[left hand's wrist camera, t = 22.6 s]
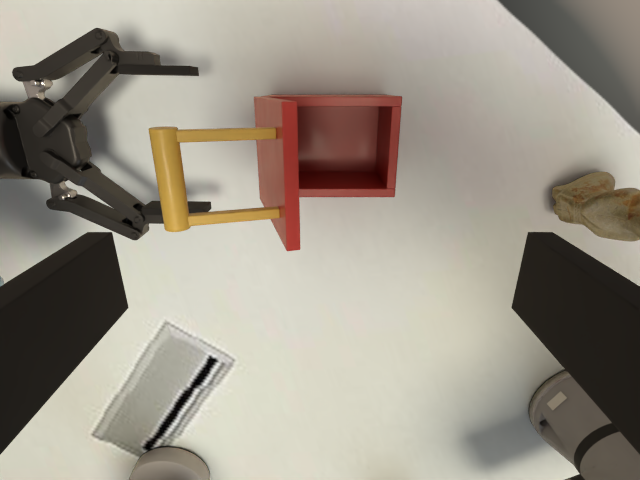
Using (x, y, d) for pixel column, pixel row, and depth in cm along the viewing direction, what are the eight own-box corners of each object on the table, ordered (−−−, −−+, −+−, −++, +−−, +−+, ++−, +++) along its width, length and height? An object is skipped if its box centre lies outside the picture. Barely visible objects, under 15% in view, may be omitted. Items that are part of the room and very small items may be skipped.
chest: (385, 94, 43) (402, 96, 34) (380, 176, 47) (394, 197, 38) (272, 94, 43) (259, 96, 34) (275, 176, 47) (265, 197, 38)
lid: (297, 101, 22) (137, 102, 20) (300, 249, 26) (165, 265, 23) (264, 96, 34) (162, 97, 32) (269, 198, 38) (178, 205, 35)
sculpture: (603, 207, 48) (720, 256, 34) (545, 221, 49) (635, 275, 35) (604, 162, 46) (728, 195, 32) (542, 178, 46) (638, 216, 33)
